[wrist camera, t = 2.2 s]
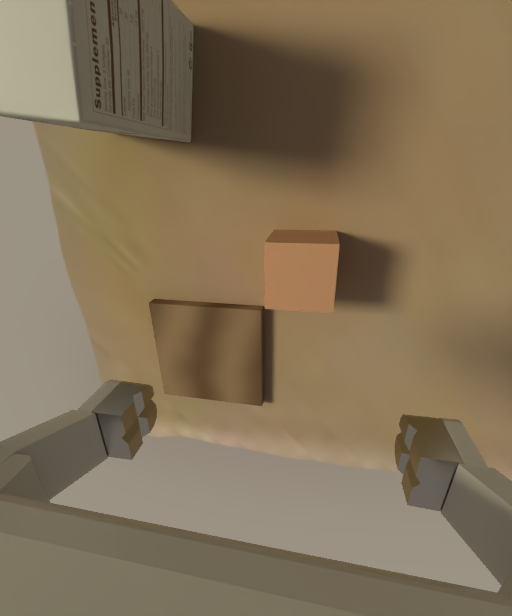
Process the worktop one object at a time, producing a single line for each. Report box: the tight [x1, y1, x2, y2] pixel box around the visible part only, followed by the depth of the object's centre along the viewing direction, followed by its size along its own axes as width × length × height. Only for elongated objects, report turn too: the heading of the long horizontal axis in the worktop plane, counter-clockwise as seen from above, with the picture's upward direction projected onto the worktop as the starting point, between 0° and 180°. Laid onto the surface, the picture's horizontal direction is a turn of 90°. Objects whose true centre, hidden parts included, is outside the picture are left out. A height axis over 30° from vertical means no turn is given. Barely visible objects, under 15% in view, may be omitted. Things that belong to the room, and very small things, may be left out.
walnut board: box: [149, 299, 264, 406], centre depth 31 cm, size 11×11×1 cm
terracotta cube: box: [264, 230, 340, 313], centre depth 24 cm, size 5×5×5 cm
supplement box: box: [0, 0, 194, 143], centre depth 17 cm, size 7×7×13 cm
